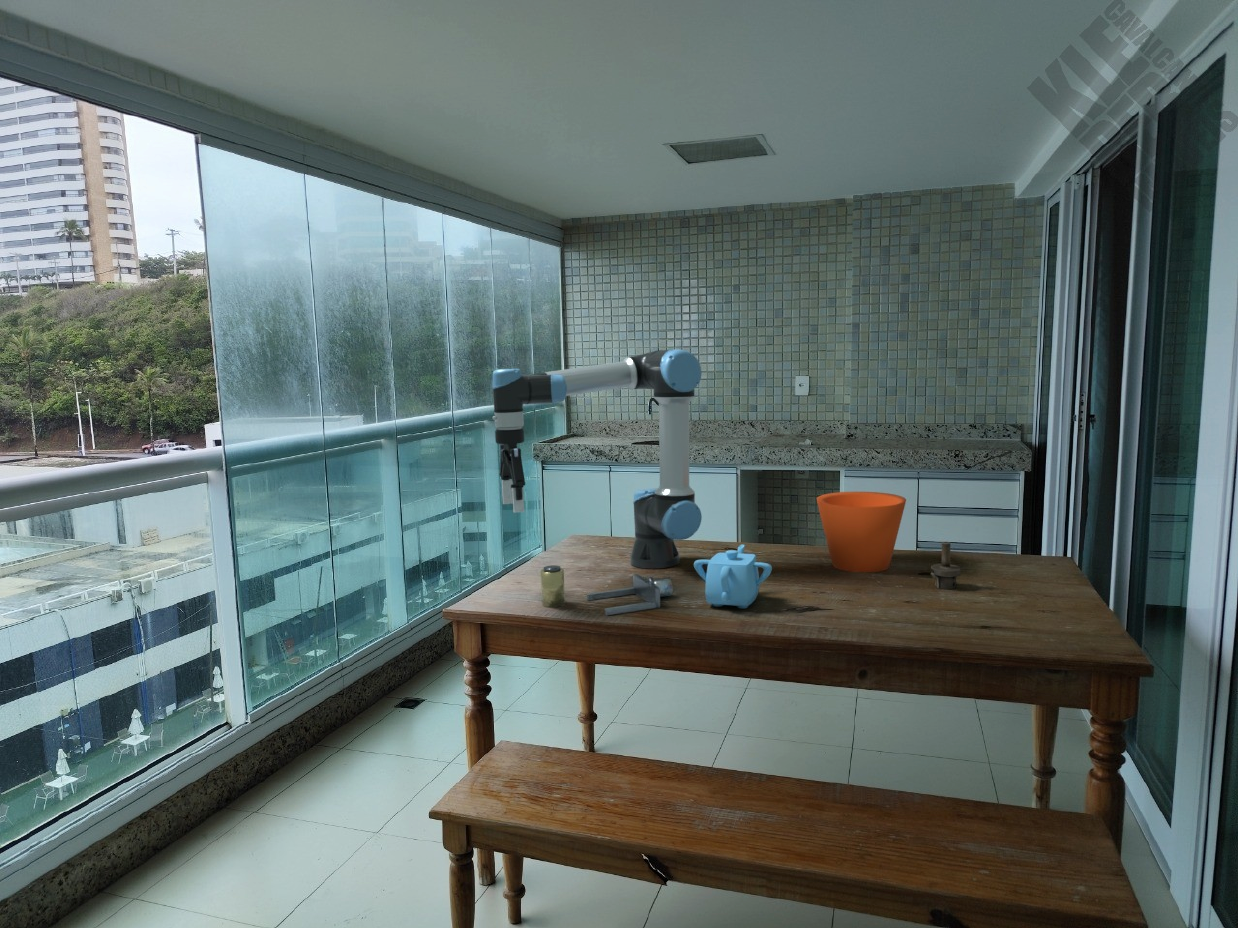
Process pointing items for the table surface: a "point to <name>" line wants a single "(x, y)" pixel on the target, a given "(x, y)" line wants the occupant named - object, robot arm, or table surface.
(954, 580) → the industrial component
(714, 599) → the light blue boxy pot
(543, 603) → the yellow jar
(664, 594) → the flange cradle
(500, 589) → the table surface
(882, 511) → the flowerpot
